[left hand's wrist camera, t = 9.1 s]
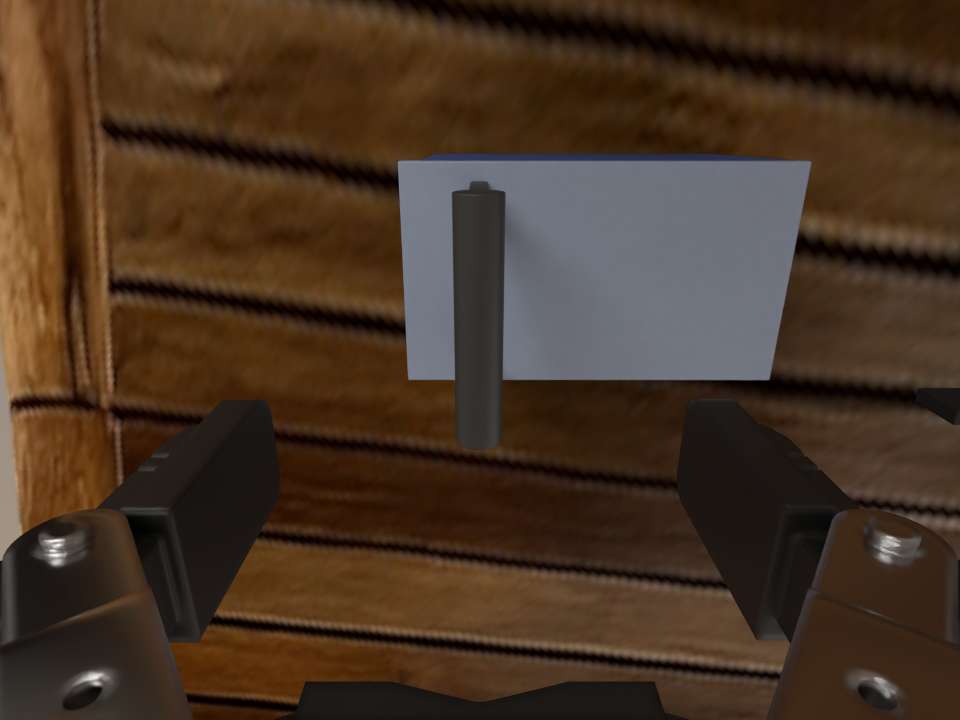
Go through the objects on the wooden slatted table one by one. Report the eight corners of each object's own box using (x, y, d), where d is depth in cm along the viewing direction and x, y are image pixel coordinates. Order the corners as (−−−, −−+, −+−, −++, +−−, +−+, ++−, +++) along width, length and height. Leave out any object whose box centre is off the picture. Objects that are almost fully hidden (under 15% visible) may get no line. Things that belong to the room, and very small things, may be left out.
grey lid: (410, 373, 26) (382, 466, 19) (400, 160, 23) (362, 171, 16) (761, 373, 26) (871, 466, 19) (801, 160, 23) (954, 171, 16)
